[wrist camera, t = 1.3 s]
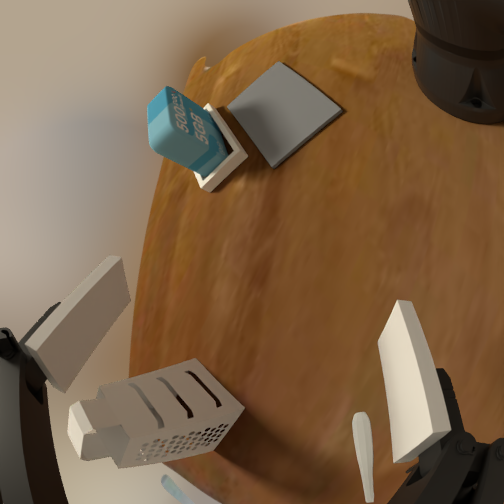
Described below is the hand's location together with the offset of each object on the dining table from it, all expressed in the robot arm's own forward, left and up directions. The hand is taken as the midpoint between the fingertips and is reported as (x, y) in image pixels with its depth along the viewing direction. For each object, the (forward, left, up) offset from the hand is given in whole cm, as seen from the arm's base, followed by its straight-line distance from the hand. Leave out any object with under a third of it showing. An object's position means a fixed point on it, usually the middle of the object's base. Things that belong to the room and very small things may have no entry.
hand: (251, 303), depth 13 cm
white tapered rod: (+8, +24, -19) cm, 31 cm away
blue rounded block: (+5, -32, -18) cm, 38 cm away
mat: (-7, -28, -18) cm, 34 cm away
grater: (+25, +3, -18) cm, 31 cm away
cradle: (+5, -32, -18) cm, 38 cm away
